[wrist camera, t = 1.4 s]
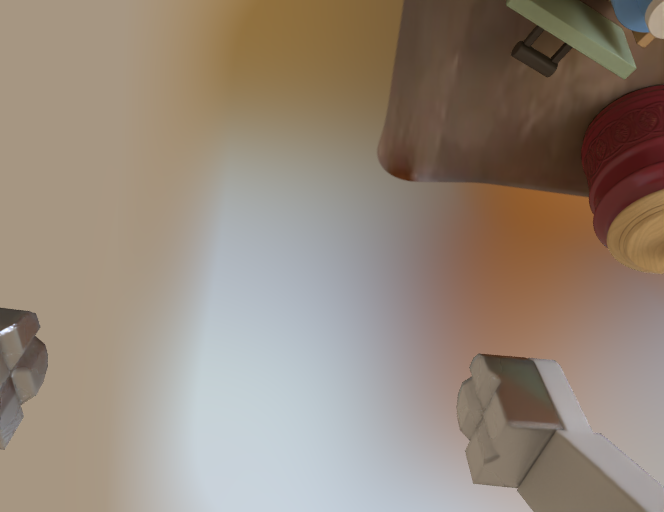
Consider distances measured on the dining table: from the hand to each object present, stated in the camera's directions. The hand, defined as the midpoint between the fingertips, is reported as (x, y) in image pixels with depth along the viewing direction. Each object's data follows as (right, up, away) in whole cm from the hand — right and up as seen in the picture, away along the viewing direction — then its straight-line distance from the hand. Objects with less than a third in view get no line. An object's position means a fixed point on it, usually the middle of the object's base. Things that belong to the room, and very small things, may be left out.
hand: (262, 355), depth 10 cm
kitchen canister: (+35, +15, +44) cm, 58 cm away
